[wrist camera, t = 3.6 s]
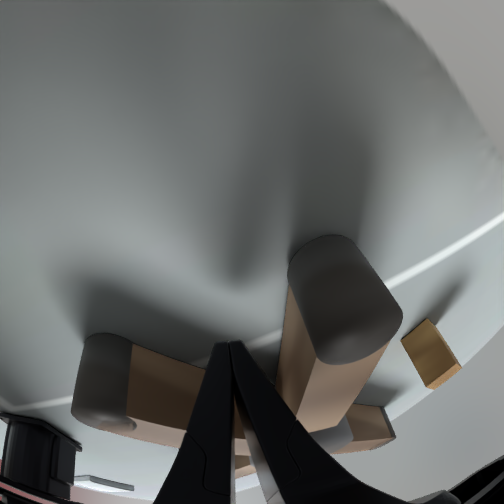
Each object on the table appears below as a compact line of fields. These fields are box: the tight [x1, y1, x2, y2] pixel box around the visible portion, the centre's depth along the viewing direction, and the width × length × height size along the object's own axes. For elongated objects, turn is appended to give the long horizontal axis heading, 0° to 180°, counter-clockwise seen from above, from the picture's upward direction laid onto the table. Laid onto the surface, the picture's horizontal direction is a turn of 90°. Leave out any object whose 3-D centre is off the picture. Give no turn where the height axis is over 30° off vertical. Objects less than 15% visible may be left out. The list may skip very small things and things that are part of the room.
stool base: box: [71, 318, 462, 479], centre depth 15 cm, size 22×25×4 cm
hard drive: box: [74, 476, 134, 492], centre depth 32 cm, size 2×8×12 cm
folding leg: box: [275, 235, 403, 432], centre depth 10 cm, size 9×3×3 cm, turn 0°
